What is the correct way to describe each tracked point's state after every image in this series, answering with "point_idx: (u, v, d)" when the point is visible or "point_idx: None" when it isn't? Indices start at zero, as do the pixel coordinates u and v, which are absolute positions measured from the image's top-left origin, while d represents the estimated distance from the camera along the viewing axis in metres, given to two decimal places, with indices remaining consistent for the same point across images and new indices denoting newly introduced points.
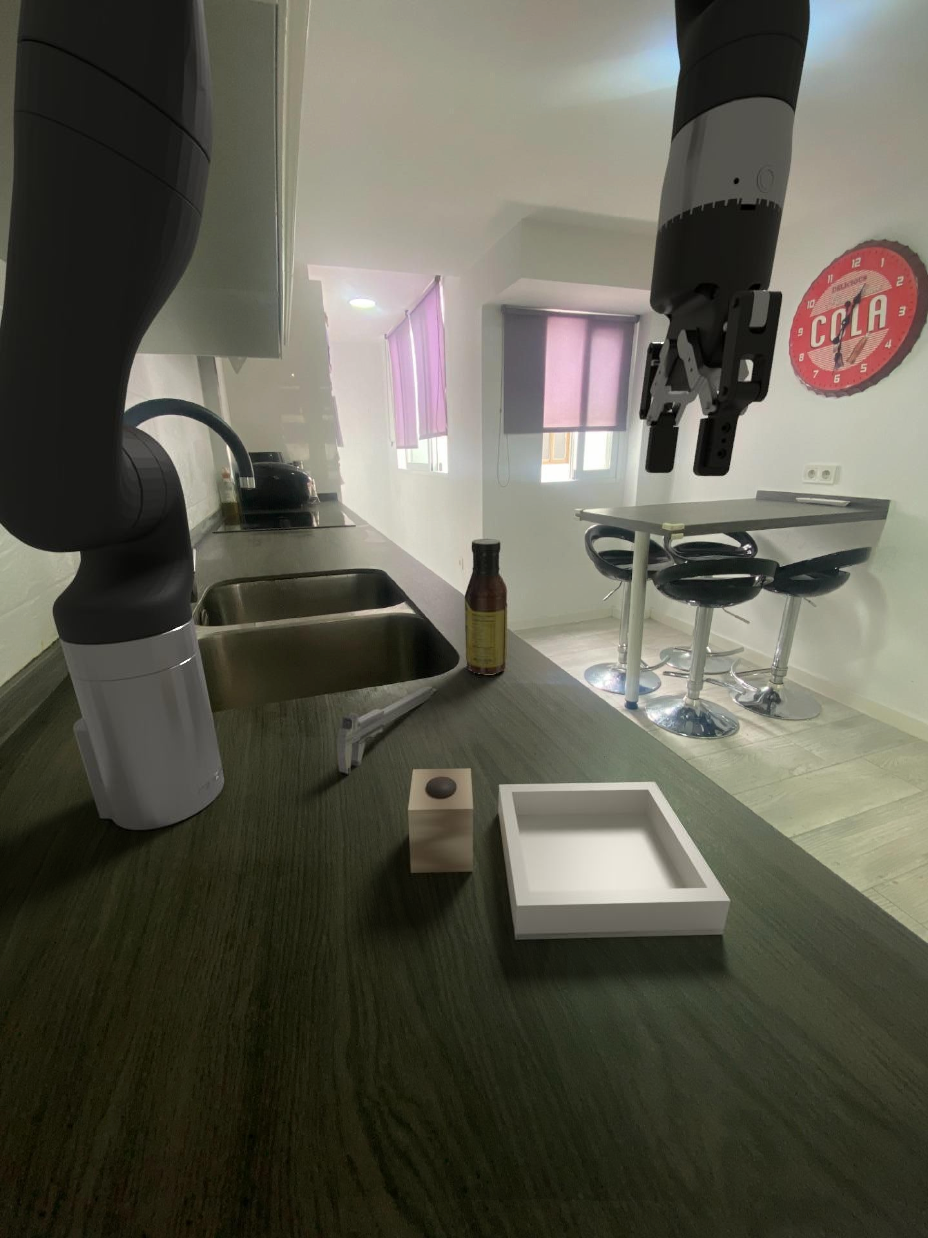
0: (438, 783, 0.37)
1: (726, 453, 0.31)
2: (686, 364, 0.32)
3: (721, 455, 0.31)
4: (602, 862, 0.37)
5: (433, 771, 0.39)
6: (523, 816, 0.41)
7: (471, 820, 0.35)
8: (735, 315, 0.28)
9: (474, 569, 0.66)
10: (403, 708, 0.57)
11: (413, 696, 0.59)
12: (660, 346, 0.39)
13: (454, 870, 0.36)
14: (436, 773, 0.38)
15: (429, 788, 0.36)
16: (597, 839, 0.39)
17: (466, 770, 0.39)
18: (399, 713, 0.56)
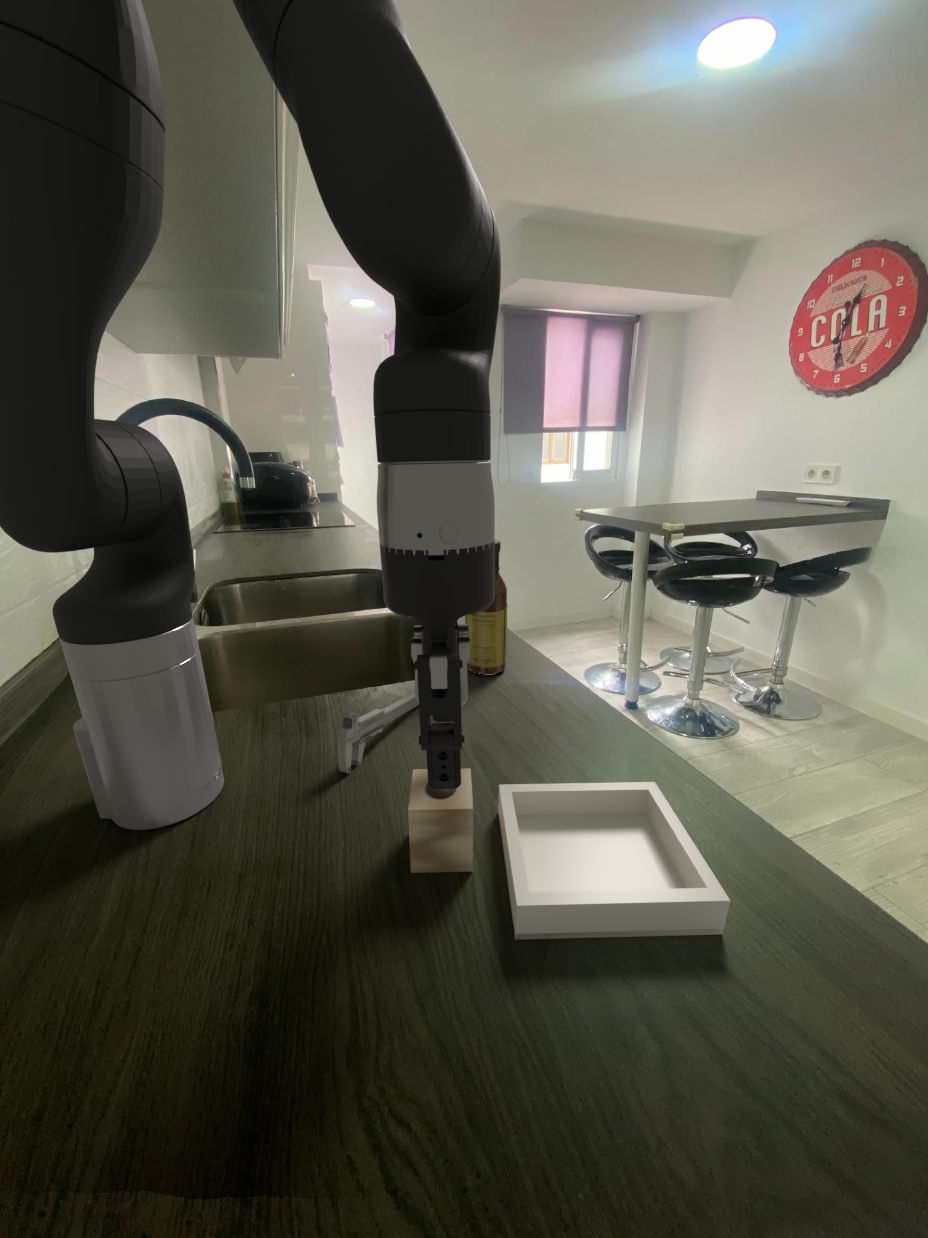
0: None
1: (449, 776, 0.30)
2: None
3: (446, 776, 0.30)
4: (602, 862, 0.37)
5: None
6: (523, 816, 0.41)
7: (471, 820, 0.35)
8: (418, 678, 0.27)
9: None
10: (403, 708, 0.57)
11: (413, 696, 0.59)
12: None
13: (454, 870, 0.36)
14: None
15: (429, 788, 0.36)
16: (597, 839, 0.39)
17: (466, 770, 0.39)
18: (400, 713, 0.56)
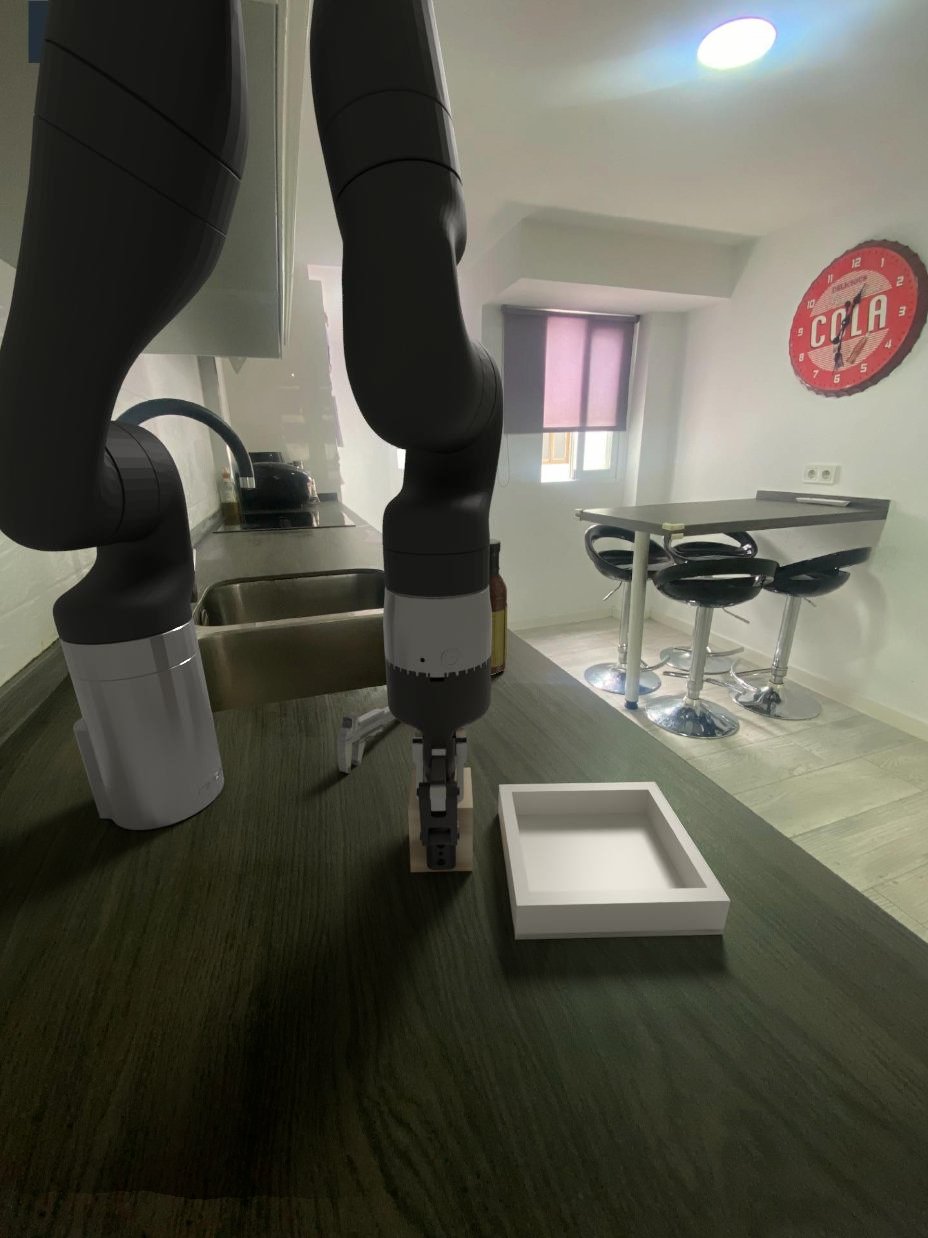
0: None
1: (445, 861, 0.34)
2: None
3: (442, 860, 0.35)
4: (602, 862, 0.37)
5: None
6: (523, 816, 0.41)
7: (471, 819, 0.35)
8: None
9: None
10: None
11: None
12: None
13: (454, 869, 0.36)
14: None
15: None
16: (597, 839, 0.39)
17: (466, 769, 0.39)
18: None
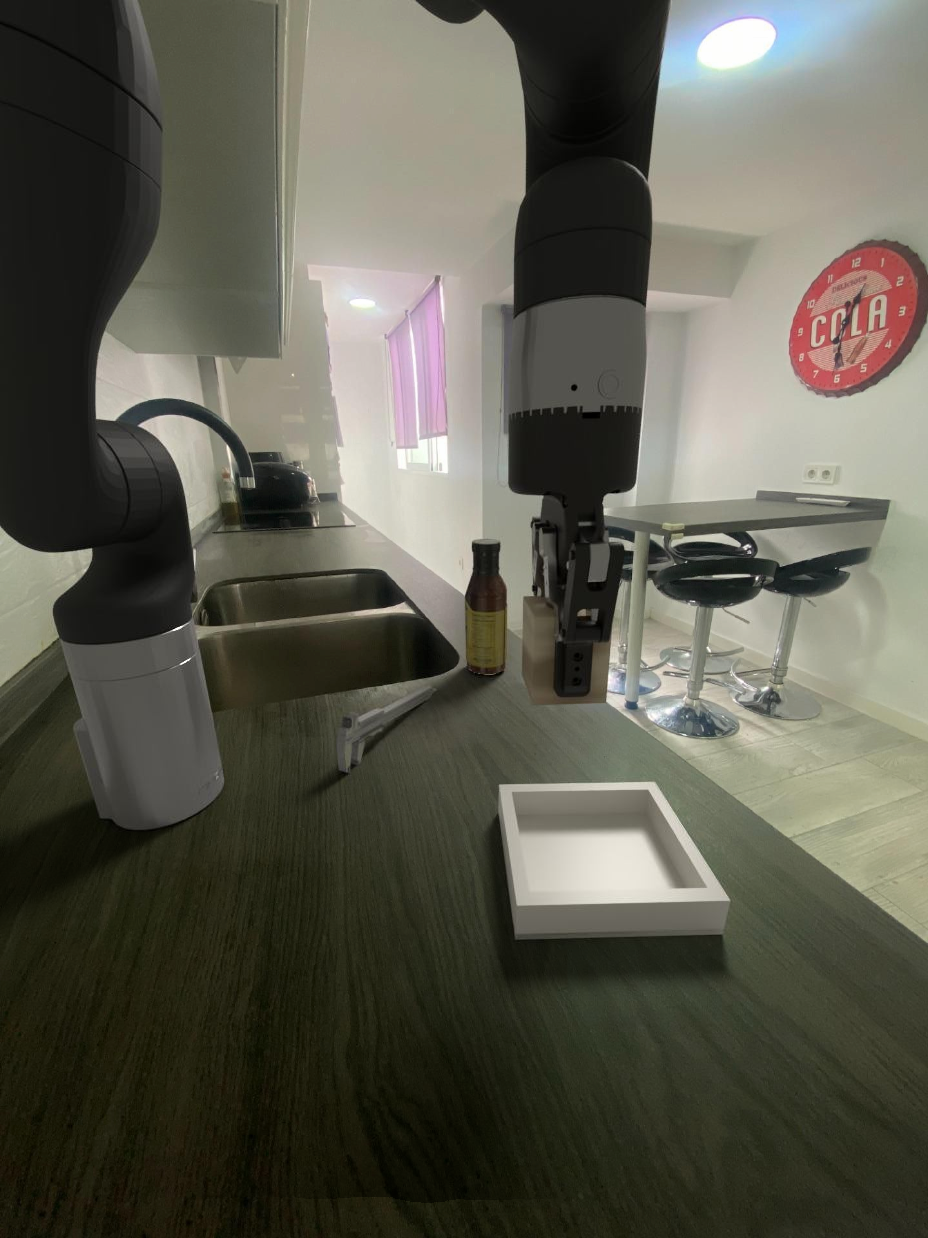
0: None
1: (581, 680, 0.28)
2: (544, 568, 0.28)
3: (577, 680, 0.29)
4: (602, 862, 0.37)
5: None
6: (523, 816, 0.41)
7: None
8: (572, 570, 0.24)
9: (474, 569, 0.66)
10: (403, 707, 0.57)
11: (413, 696, 0.60)
12: None
13: (584, 701, 0.30)
14: None
15: (551, 604, 0.30)
16: (597, 839, 0.39)
17: None
18: (400, 712, 0.56)
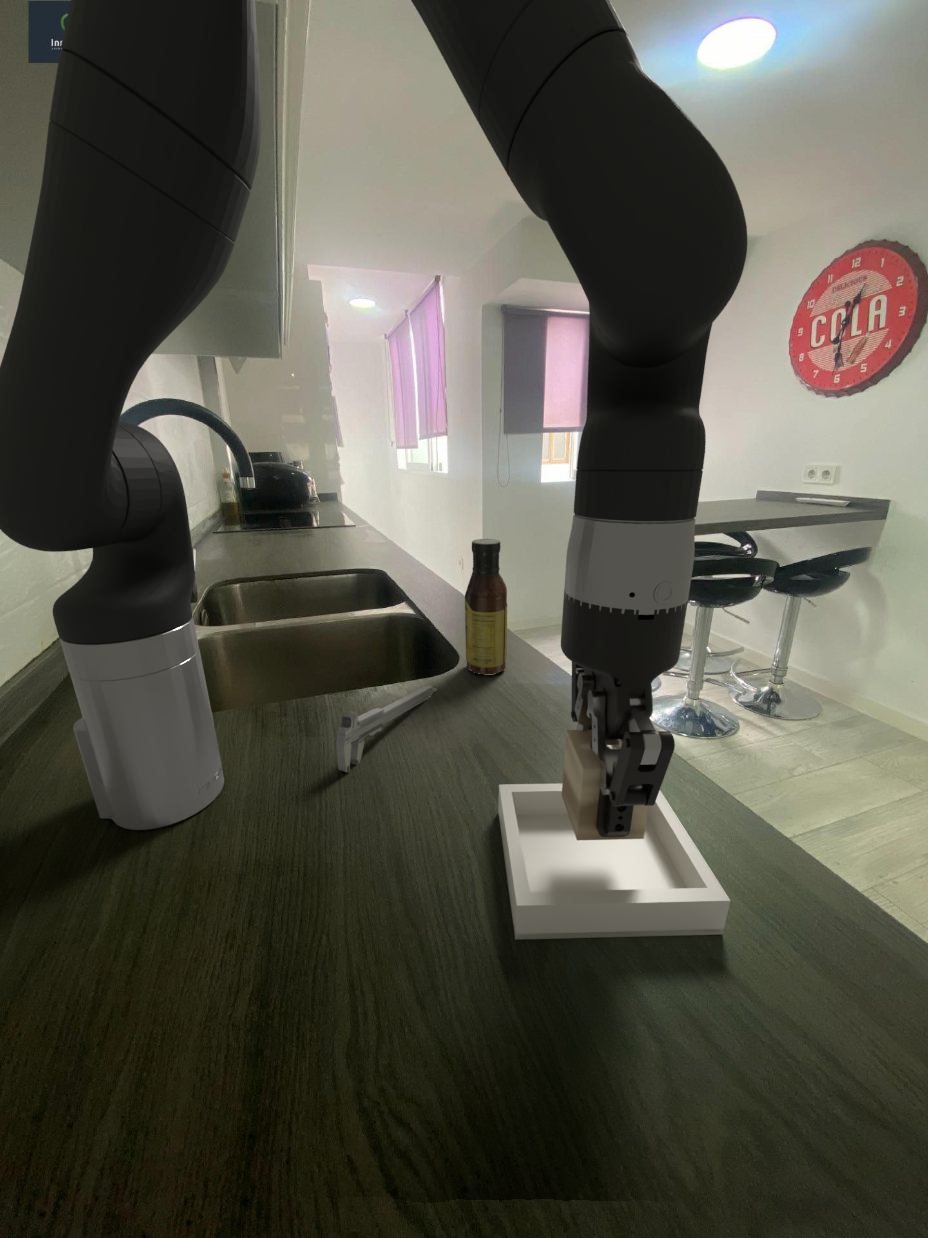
0: None
1: (624, 827, 0.31)
2: (592, 725, 0.31)
3: (619, 826, 0.32)
4: (602, 862, 0.37)
5: (589, 732, 0.36)
6: (523, 816, 0.41)
7: None
8: (626, 754, 0.27)
9: (474, 569, 0.66)
10: (403, 707, 0.57)
11: (413, 695, 0.60)
12: None
13: (624, 837, 0.33)
14: None
15: None
16: None
17: None
18: (399, 712, 0.56)
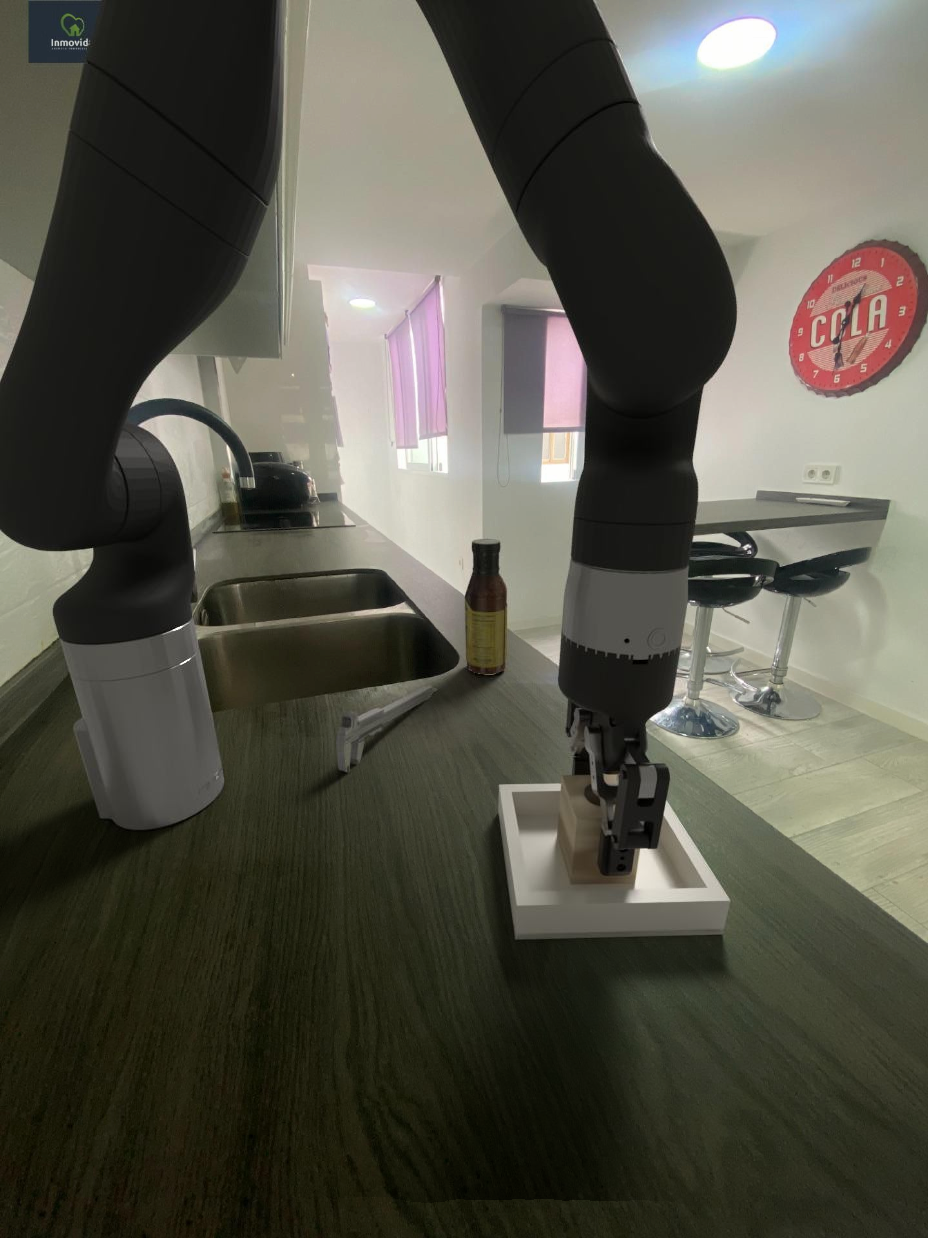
0: None
1: (626, 867, 0.31)
2: (590, 762, 0.32)
3: (621, 865, 0.31)
4: None
5: (584, 777, 0.37)
6: (523, 816, 0.41)
7: None
8: (624, 787, 0.27)
9: (474, 569, 0.66)
10: (403, 707, 0.57)
11: (413, 695, 0.60)
12: None
13: (616, 881, 0.35)
14: (588, 780, 0.37)
15: (589, 795, 0.35)
16: None
17: None
18: (399, 712, 0.56)
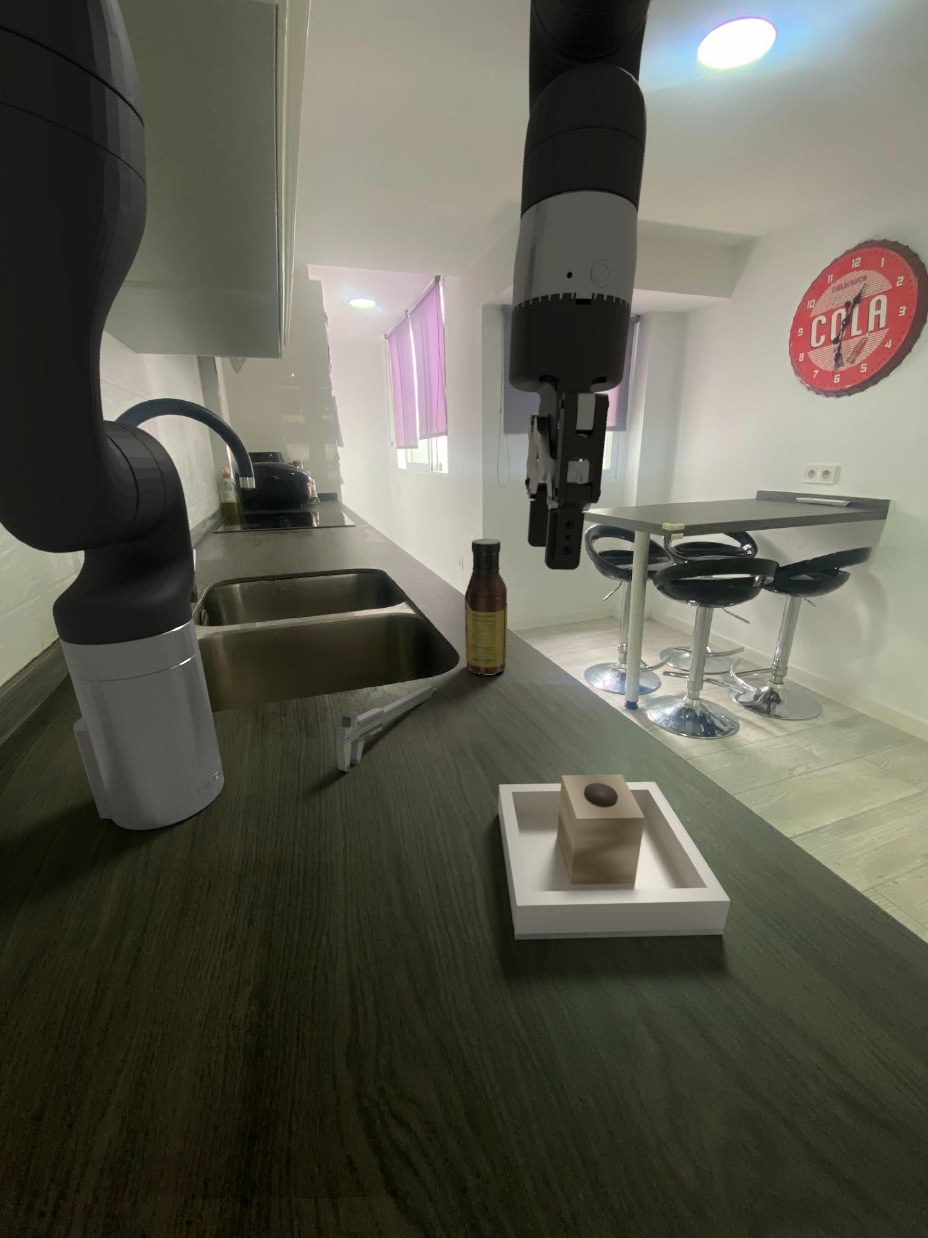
0: (596, 790, 0.35)
1: (571, 549, 0.30)
2: (538, 452, 0.31)
3: (567, 550, 0.30)
4: None
5: (584, 777, 0.37)
6: (523, 816, 0.41)
7: (641, 829, 0.33)
8: (562, 417, 0.26)
9: (474, 569, 0.66)
10: (403, 707, 0.57)
11: (413, 695, 0.60)
12: None
13: (616, 881, 0.35)
14: (588, 780, 0.37)
15: (589, 795, 0.35)
16: None
17: (618, 776, 0.37)
18: (399, 712, 0.56)
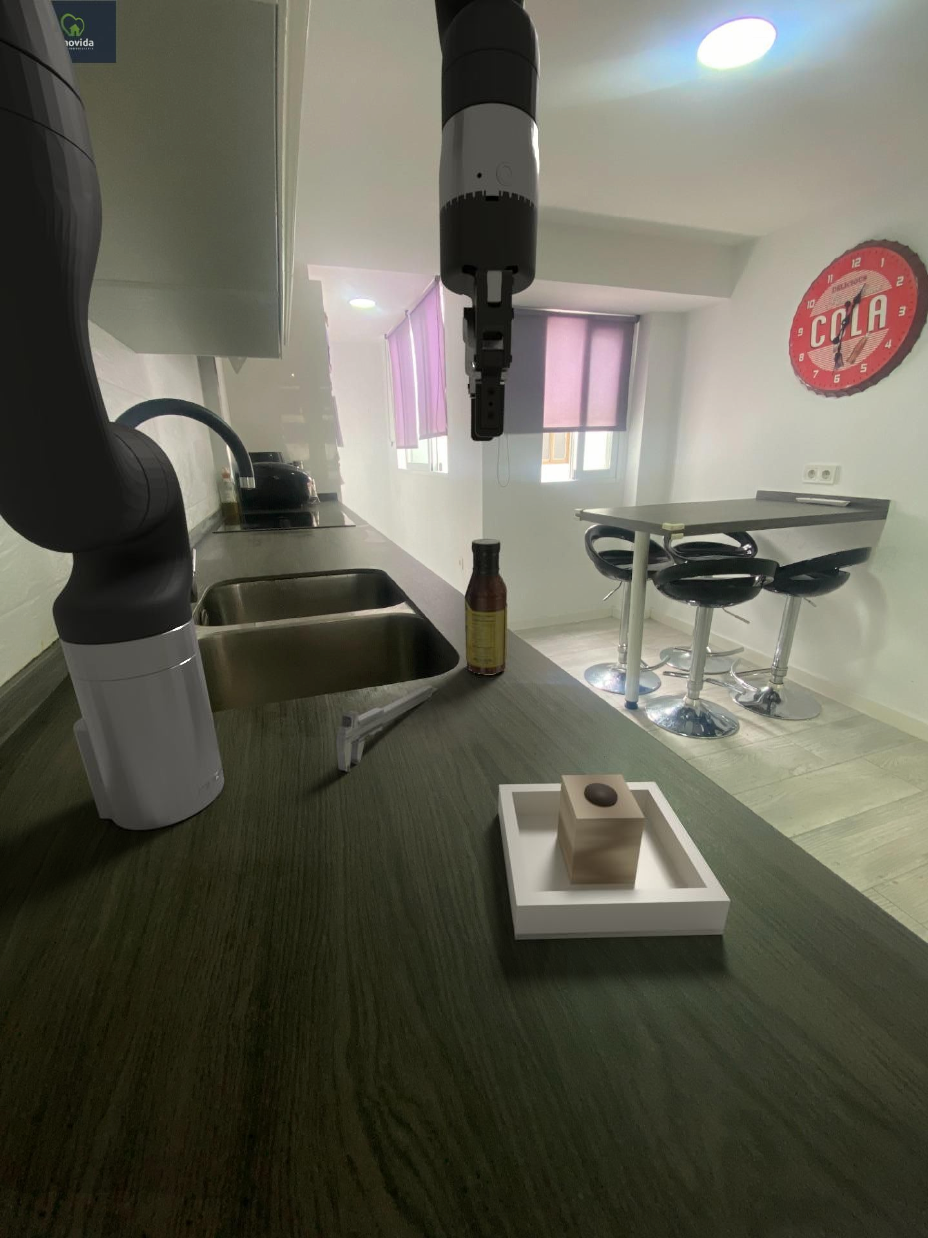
0: (596, 790, 0.35)
1: (495, 415, 0.35)
2: None
3: (492, 417, 0.36)
4: None
5: (584, 777, 0.37)
6: (523, 816, 0.41)
7: (641, 829, 0.33)
8: (476, 291, 0.32)
9: (474, 569, 0.66)
10: (403, 707, 0.57)
11: (413, 695, 0.60)
12: None
13: (616, 881, 0.35)
14: (588, 780, 0.37)
15: (589, 795, 0.35)
16: None
17: (618, 776, 0.37)
18: (399, 712, 0.56)
